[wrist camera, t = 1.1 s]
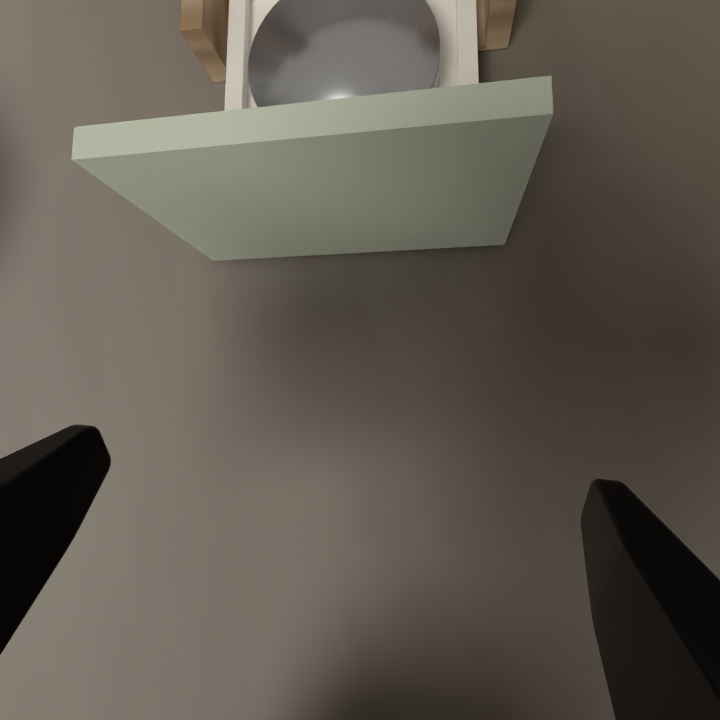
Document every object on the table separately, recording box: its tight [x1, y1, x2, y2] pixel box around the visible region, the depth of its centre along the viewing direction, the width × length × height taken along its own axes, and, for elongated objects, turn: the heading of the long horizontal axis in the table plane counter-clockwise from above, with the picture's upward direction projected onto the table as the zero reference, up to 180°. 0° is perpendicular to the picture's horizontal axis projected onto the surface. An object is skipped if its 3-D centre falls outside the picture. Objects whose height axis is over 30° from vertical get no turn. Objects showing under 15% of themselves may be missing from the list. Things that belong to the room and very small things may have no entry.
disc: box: [248, 0, 440, 107], centre depth 20 cm, size 8×8×2 cm
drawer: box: [72, 0, 553, 261], centre depth 18 cm, size 14×13×9 cm
